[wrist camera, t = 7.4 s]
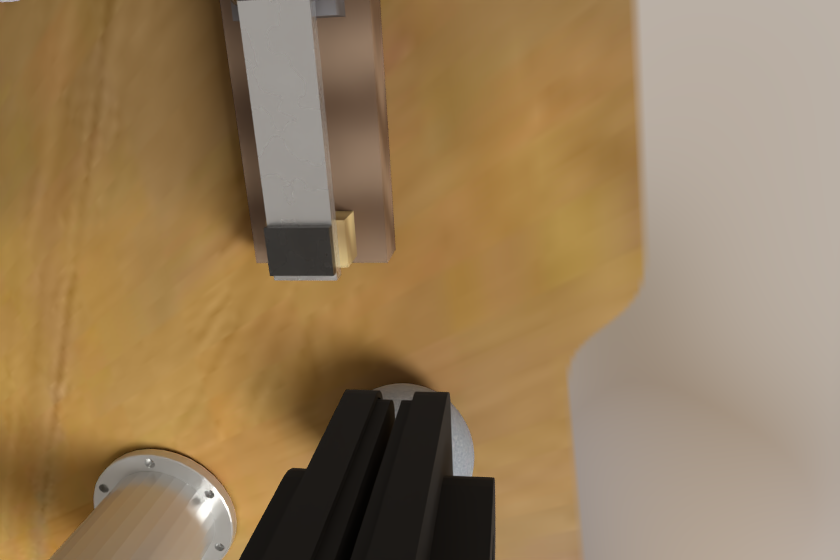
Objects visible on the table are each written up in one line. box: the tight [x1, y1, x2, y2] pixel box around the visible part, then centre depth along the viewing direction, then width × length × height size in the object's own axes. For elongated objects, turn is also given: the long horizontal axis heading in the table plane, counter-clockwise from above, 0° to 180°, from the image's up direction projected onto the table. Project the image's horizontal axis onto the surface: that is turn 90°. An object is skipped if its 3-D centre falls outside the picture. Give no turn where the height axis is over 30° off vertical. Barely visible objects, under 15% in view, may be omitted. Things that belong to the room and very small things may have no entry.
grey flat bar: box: [231, 0, 341, 280], centre depth 36 cm, size 17×5×2 cm, turn 3°
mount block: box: [220, 0, 395, 267], centre depth 39 cm, size 19×9×5 cm, turn 3°
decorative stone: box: [373, 383, 474, 477], centre depth 44 cm, size 10×10×10 cm
